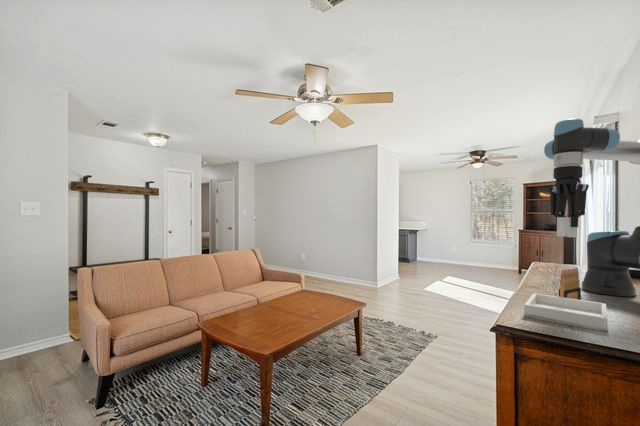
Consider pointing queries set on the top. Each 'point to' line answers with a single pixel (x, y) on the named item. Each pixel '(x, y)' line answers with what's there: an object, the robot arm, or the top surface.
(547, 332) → the top surface
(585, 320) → the tray
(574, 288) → the ammunition clip
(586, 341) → the top surface
